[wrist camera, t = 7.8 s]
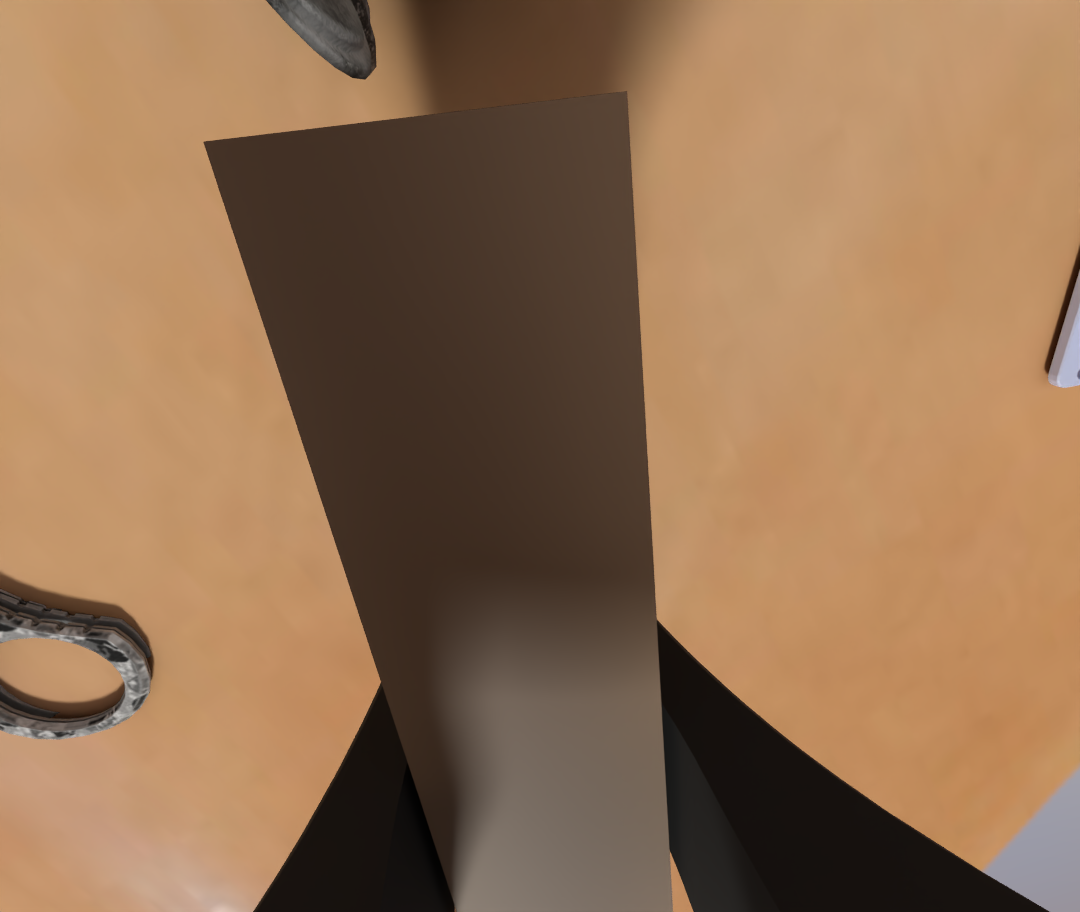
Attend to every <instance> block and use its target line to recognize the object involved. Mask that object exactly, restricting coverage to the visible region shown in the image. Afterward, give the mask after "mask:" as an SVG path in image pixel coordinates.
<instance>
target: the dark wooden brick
mask: <svg viewBox="0 0 1080 912" xmlns="http://www.w3.org/2000/svg"><path fill="white" fill-rule="evenodd" d="M204 145H205V148H206V151H207V154H208V157H209V160H210V163H211V166H212V169H213V172H214V175H215V178H216V182H217V185H218V188H219V191H220V194H221V197H222V200H223V203H224V206H225V209H226V212H227V215H228V218H229V221H230V224H231V227H232V230H233V233H234V236H235V239H236V242H237V245H238V248H239V251H240V254H241V258H242V261H243V264H244V267H245V270H246V273H247V276H248V279H249V282H250V285H251V288H252V291H253V294H254V297H255V300H256V303H257V306H258V309H259V312H260V315H261V318H262V321H263V324H264V327H265V330H266V333H267V337H268V340H269V343H270V346H271V349H272V352H273V355H274V358H275V361H276V364H277V367H278V370H279V373H280V376H281V379H282V382H283V385H284V388H285V391H286V394H287V397H288V400H289V403H290V406H291V409H292V412H293V416H294V419H295V422H296V425H297V428H298V431H299V434H300V437H301V440H302V443H303V446H304V449H305V452H306V455H307V458H308V461H309V464H310V467H311V470H312V473H313V476H314V479H315V482H316V485H317V488H318V492H319V495H320V498H321V501H322V504H323V507H324V510H325V513H326V516H327V519H328V522H329V525H330V528H331V531H332V534H333V537H334V540H335V543H336V546H337V549H338V552H339V555H340V558H341V561H342V564H343V567H344V571H345V574H346V577H347V580H348V583H349V586H350V589H351V592H352V595H353V598H354V601H355V604H356V607H357V610H358V613H359V616H360V619H361V622H362V625H363V628H364V631H365V634H366V637H367V640H368V643H369V646H370V650H371V653H372V656H373V659H374V662H375V665H376V668H377V671H378V674H379V677H380V680H381V683H382V686H383V689H384V692H385V695H386V698H387V701H388V704H389V707H390V710H391V713H392V716H393V719H394V722H395V725H396V729H397V732H398V735H399V738H400V741H401V744H402V747H403V750H404V753H405V756H406V759H407V762H408V765H409V768H410V771H411V774H412V777H413V780H414V783H415V786H416V789H417V792H418V795H419V798H420V801H421V805H422V808H423V811H424V814H425V817H426V820H427V823H428V826H429V829H430V832H431V835H432V838H433V841H434V844H435V847H436V850H437V853H438V856H439V859H440V862H441V865H442V868H443V871H444V874H445V877H446V880H447V884H448V887H449V890H450V893H451V896H452V899H453V902H454V905H455V908H456V911H457V912H673V904H672V886H671V868H670V850H669V832H668V815H667V797H666V779H665V761H664V743H663V725H662V707H661V689H660V672H659V654H658V636H657V618H656V600H655V582H654V564H653V546H652V529H651V511H650V493H649V475H648V457H647V439H646V421H645V403H644V386H643V368H642V350H641V332H640V314H639V296H638V278H637V260H636V243H635V225H634V207H633V189H632V171H631V153H630V135H629V117H628V100H627V91H625V92H616V93H608V94H600V95H591V96H583V97H574V98H566V99H558V100H549V101H541V102H533V103H524V104H516V105H507V106H499V107H491V108H482V109H474V110H466V111H457V112H449V113H440V114H432V115H424V116H415V117H407V118H399V119H390V120H382V121H373V122H365V123H357V124H348V125H340V126H331V127H323V128H315V129H306V130H298V131H290V132H281V133H273V134H264V135H256V136H248V137H239V138H231V139H223V140H214V141H206V142H204Z"/></svg>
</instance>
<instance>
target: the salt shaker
mask: <svg viewBox="0 0 1080 912" xmlns="http://www.w3.org/2000/svg"><path fill="white" fill-rule="evenodd" d="M266 1H267V2H268V3H269V4H270V5H271V6H272V8H273V9H274V10H275V11H276V12H277V13H278V14H279V15H280V16H281V17H282V19H283V20H284V21H285V22H286V23H287V24H288V25H289V26H290V27H291V28H292V29H293V30H294V31H295V32H296V33H297V34H298V35H299V36H300V37H301V38H302V39H303V40H304V41H305V42H306V43H307V44H308V45H309V46H310V47H311V48H312V49H313V50H314V51H316V52H317V53H318V54H319V55H321V56H322V57H323V58H324V59H325V60H327V61H328V62H329V63H330V64H331V65H333V66H334V67H335V68H337V69H338V70H340V71H342V72H344V73H345V74H347V75H349V76H350V77H352V78H357V79H366V78H367V77H368V76H369V75H370V74H371V73H372V71H373V70H374V69H375V68H376V45H375V38H374V34H373V31H372V27H371V24H370V9H369V5H368V2H367V0H266Z"/></svg>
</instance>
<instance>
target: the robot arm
mask: <svg viewBox="0 0 1080 912" xmlns="http://www.w3.org/2000/svg"><path fill="white" fill-rule="evenodd" d="M1048 380H1049V383H1050V384H1052V385H1054V386H1058V387H1064V388H1066V387H1072V386H1077V385H1080V270H1079V274H1078V277H1077V280H1076V284H1075V287H1074V290H1073V294H1072V297H1071V300H1070V304H1069V307H1068V310H1067V314H1066V317H1065V320H1064V324H1063V327H1062V330H1061V334H1060V337H1059V340H1058V344H1057V347H1056V350H1055V354H1054V357H1053V360H1052V363H1051V367H1050V370H1049V373H1048ZM657 636H658V654H659V672H660V689H661V707H662V725H663V743H664V761H665V779H666V797H667V815H668V832H669V849H670V852H671V854H672V857H673V859H674V862H675V864H676V867H677V869H678V871H679V874H680V876H681V879H682V882H683V884H684V887H685V890H686V892H687V895H688V898H689V901H690V903H691V906H692V909H693V911H694V912H1049V911H1048V910H1046V909H1044V908H1042V907H1041V906H1039V905H1037V904H1036V903H1034V902H1032V901H1031V900H1029V899H1027V898H1025V897H1024V896H1022V895H1020V894H1019V893H1016V892H1015V891H1013V890H1012V889H1010V888H1008V887H1007V886H1005V885H1003V884H1002V883H1000V882H998V881H997V880H995V879H993V878H991V877H990V876H988V875H986V874H985V873H983V872H981V871H980V870H978V869H977V868H975V867H974V866H972V865H970V864H969V863H967V862H966V861H964V860H963V859H961V858H959V857H958V856H956V855H955V854H953V853H952V852H950V851H948V850H947V849H945V848H944V847H942V846H941V845H939V844H937V843H936V842H934V841H933V840H931V839H930V838H928V837H926V836H925V835H923V834H922V833H920V832H919V831H917V830H915V829H914V828H912V827H911V826H909V825H908V824H906V823H904V822H903V821H901V820H900V819H898V818H897V817H895V816H893V815H892V814H890V813H889V812H887V811H886V810H884V809H883V808H881V807H880V806H879V805H877V804H876V803H874V802H873V801H871V800H870V799H868V798H867V797H866V796H864V795H863V794H861V793H860V792H858V791H857V790H856V789H854V788H853V787H851V786H850V785H848V784H847V783H846V782H844V781H843V780H841V779H840V778H839V777H837V776H836V775H834V774H833V773H832V772H830V771H829V770H828V769H826V768H825V767H824V766H822V765H821V764H820V763H818V762H817V761H816V760H814V759H813V758H812V757H810V756H809V755H807V754H806V753H805V752H804V751H802V750H801V749H800V748H798V747H797V746H796V745H795V744H793V743H792V742H791V741H789V740H788V739H787V738H786V737H784V736H783V735H782V734H781V733H779V732H778V731H777V730H776V729H774V728H773V727H772V726H771V725H770V724H768V723H767V722H766V721H765V720H764V719H762V718H761V717H760V716H759V715H758V714H756V713H755V712H754V711H753V710H752V709H750V708H749V707H748V706H747V705H746V704H745V703H743V702H742V701H741V700H740V699H739V698H738V697H737V696H735V695H734V694H733V693H732V692H731V691H730V690H729V689H728V688H726V687H725V686H724V685H723V684H722V683H721V682H720V681H719V680H718V679H717V678H716V677H715V676H713V675H712V674H711V673H710V672H709V671H708V670H707V669H706V668H705V667H704V666H703V665H702V664H700V663H699V662H698V661H697V660H696V659H695V658H694V657H693V656H692V655H691V654H690V653H689V652H688V651H687V650H686V649H685V648H684V647H683V646H682V645H681V644H680V643H679V642H678V641H677V640H676V639H675V638H674V637H673V636H672V635H671V634H670V633H669V632H668V631H667V630H666V629H665V628H664V627H663V626H662V624H661V623H660V622H659V621H658V620H657ZM454 908H455V905H454V902H453V899H452V896H451V893H450V890H449V887H448V884H447V880H446V877H445V874H444V871H443V868H442V865H441V862H440V859H439V856H438V853H437V850H436V847H435V844H434V841H433V838H432V835H431V832H430V829H429V826H428V823H427V820H426V817H425V814H424V811H423V808H422V805H421V801H420V798H419V795H418V792H417V789H416V786H415V783H414V780H413V777H412V774H411V771H410V768H409V765H408V762H407V759H406V756H405V753H404V750H403V747H402V744H401V741H400V738H399V735H398V732H397V729H396V725H395V722H394V719H393V716H392V713H391V710H390V707H389V704H388V701H387V698H386V695H385V692H384V689H383V686H382V683H381V684H380V686H379V688H378V690H377V693H376V695H375V697H374V699H373V701H372V703H371V705H370V708H369V710H368V712H367V714H366V716H365V718H364V720H363V722H362V724H361V726H360V728H359V730H358V732H357V734H356V736H355V738H354V740H353V742H352V744H351V746H350V748H349V750H348V752H347V754H346V756H345V758H344V760H343V762H342V764H341V766H340V767H339V769H338V771H337V773H336V775H335V777H334V779H333V780H332V782H331V784H330V786H329V787H328V789H327V791H326V793H325V795H324V796H323V798H322V800H321V802H320V803H319V805H318V807H317V809H316V810H315V812H314V814H313V816H312V817H311V819H310V821H309V823H308V825H307V826H306V828H305V830H304V832H303V833H302V835H301V837H300V838H299V840H298V842H297V843H296V845H295V847H294V848H293V850H292V852H291V853H290V855H289V856H288V858H287V860H286V861H285V863H284V865H283V866H282V868H281V869H280V871H279V873H278V874H277V876H276V877H275V879H274V881H273V882H272V884H271V885H270V887H269V888H268V890H267V891H266V893H265V894H264V896H263V898H262V899H261V901H260V902H259V904H258V905H257V907H256V908H255V910H254V911H253V912H454Z"/></svg>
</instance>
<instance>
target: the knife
mask: <svg viewBox="0 0 1080 912" xmlns="http://www.w3.org/2000/svg"><path fill="white" fill-rule="evenodd" d="M24 638H45V639H57V640H61V641H65V642H69V643H74V644H78V645H80V646H82V647H85V648H87V649H89V650H92V651H94V652H96V653H98V654H99V655H101V656H102V657H104V658H105V659H107V660H108V661H109V662H111V663H112V664H113V666H114V667H115V668H116V669H117V670H118V671H119V672H120V673H121V676H122V678H123V680H124V683H125V691H124V693H123V696H122V698H121V700H120V701H119V702H118V703H117V704H116V705H115V706H113V707H111V708H109V709H108V710H106V711H104V712H102V713H98V714H95V715H92V716H88V717H82V718H73V719H57V718H52V717H53V716H55V715H56V714H58V713H60V712H53V711H49V710H45V709H41V708H37V707H34V706H32V705H30V704H27V703H25V702H23V701H21V700H19V699H17V698H16V697H15V696H13V695H12V694H10V693H9V692H7V691H6V690H5V689H4V688H3V687H2V686H1V685H0V730H1V731H4V732H7V733H9V734H14V735H19V736H24V737H29V738H34V739H66V738H73V737H80V736H86V735H90V734H93V733H97V732H100V731H103V730H107V729H110V728H112V727H114V726H116V725H117V724H119V723H121V722H123V721H125V720H127V719H128V718H130V717H131V716H132V715H133V714H134V713H135V712H136V711H137V710H138V709H140V708H141V706H142V704H143V703H144V701H145V699H146V698H147V696H148V694H149V693H150V681H151V671H150V668H149V665H148V662H147V658H148V657H150V656H151V654H150V650H149V647H148V646H147V644H146V643H145V642H144V640H143V639H142V638H141V636H140V635H139V634H138V632H137V631H136V630H135V629H133V628H132V627H131V626H130V625H129V624H127V623H126V622H125V621H124V620H122V619H118V618H112V617H105V616H101V617H100V618H94V617H93V615H86V614H77V613H76V614H75V616H73V615H69V614H68V612H64V611H61V609H55V608H52V609H46V606H45V605H43V604H39V603H36V602H32V601H28V602H25V601H24V600H23V599H22V598H20V597H18V596H16V595H14V594H11V593H9V592H7V591H5V590H2V589H0V643H3V642H6V641H9V640H13V639H24Z"/></svg>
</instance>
